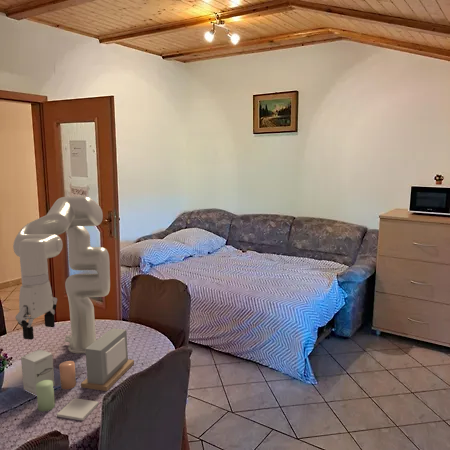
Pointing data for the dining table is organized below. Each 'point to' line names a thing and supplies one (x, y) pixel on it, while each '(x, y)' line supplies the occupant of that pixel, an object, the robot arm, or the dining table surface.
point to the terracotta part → (67, 375)
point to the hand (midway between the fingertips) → (39, 332)
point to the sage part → (45, 395)
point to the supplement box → (37, 369)
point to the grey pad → (78, 409)
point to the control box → (107, 360)
